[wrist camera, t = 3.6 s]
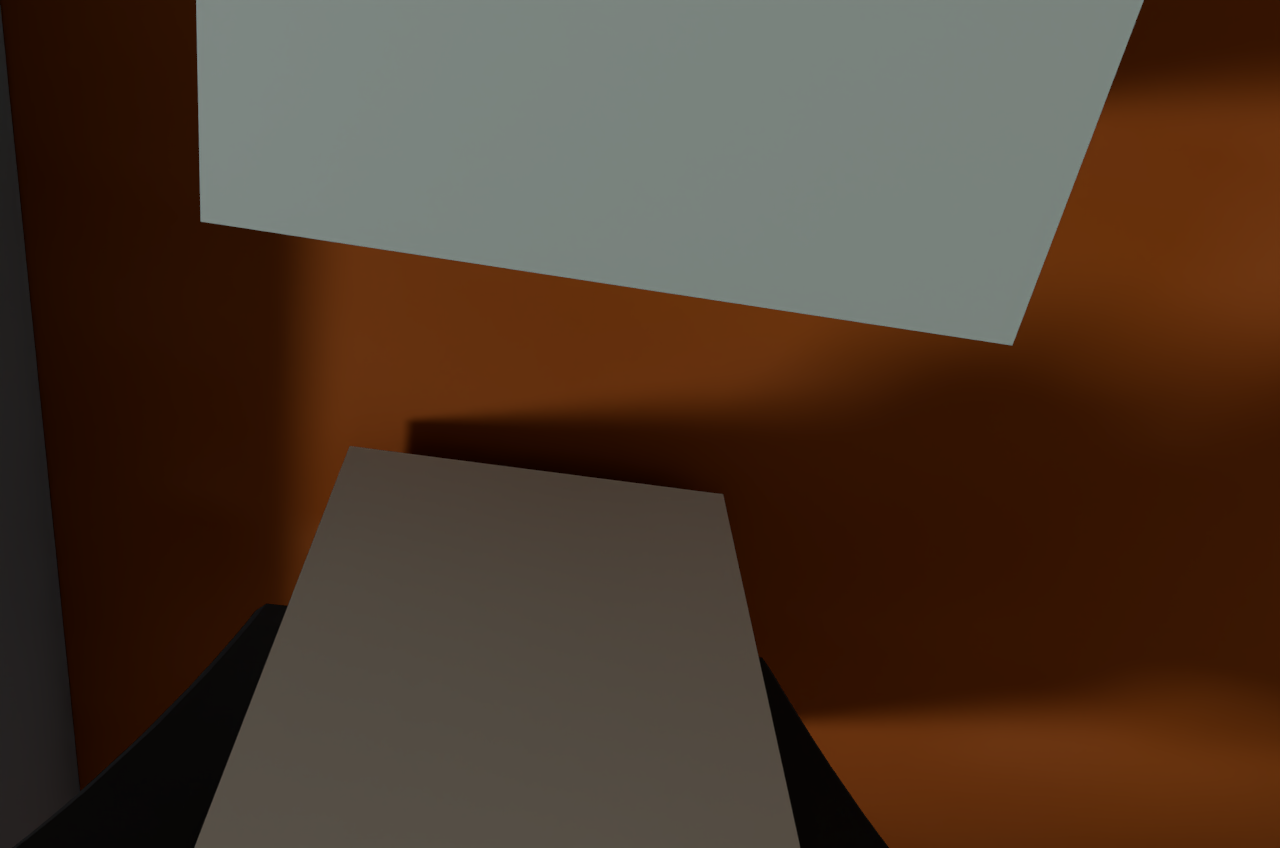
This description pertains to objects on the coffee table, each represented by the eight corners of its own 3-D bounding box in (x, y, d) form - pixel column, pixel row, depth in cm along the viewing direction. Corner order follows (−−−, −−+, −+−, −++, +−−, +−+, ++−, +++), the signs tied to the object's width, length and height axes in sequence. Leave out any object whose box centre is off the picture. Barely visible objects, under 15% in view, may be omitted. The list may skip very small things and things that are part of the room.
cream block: (654, 757, 15) (693, 1249, 10) (333, 727, 14) (190, 1232, 9) (723, 494, 13) (820, 941, 8) (349, 446, 12) (176, 893, 7)
